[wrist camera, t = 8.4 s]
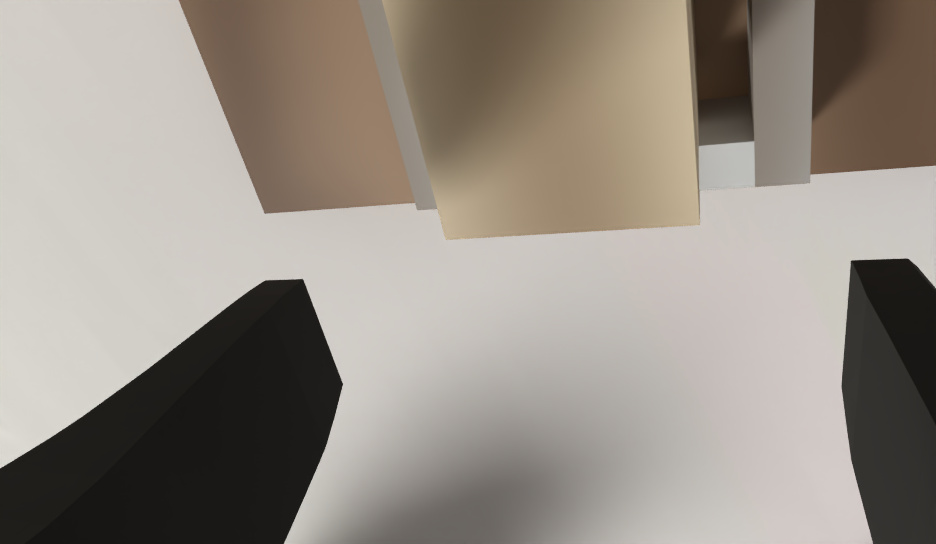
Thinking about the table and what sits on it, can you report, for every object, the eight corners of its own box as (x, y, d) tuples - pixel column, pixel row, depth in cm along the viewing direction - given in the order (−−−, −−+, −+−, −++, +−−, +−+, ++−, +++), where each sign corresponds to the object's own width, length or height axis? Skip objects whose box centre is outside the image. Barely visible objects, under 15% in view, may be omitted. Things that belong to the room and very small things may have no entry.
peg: (685, -149, 15) (683, -46, 10) (697, 62, 17) (699, 225, 13) (470, -110, 16) (381, -2, 12) (507, 83, 19) (445, 240, 14)
